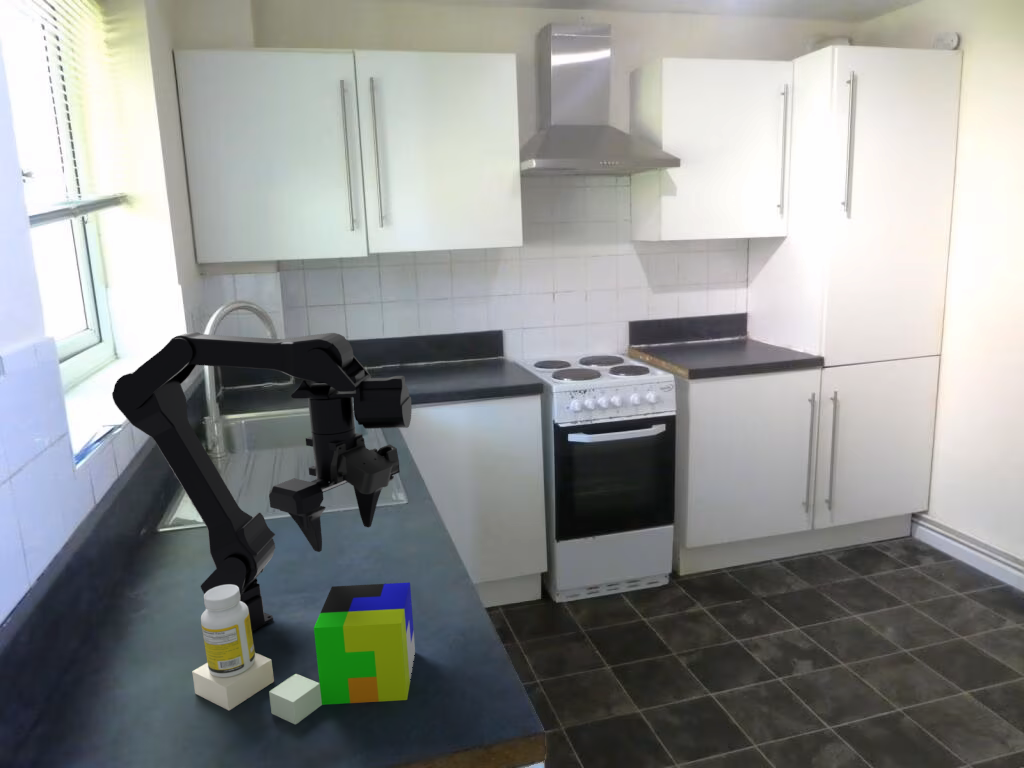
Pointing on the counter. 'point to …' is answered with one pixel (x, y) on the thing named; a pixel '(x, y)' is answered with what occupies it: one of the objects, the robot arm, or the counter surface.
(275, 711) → the brick
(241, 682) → the base brick
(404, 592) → the puzzle toy
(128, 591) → the counter surface
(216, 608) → the supplement bottle
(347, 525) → the counter surface
